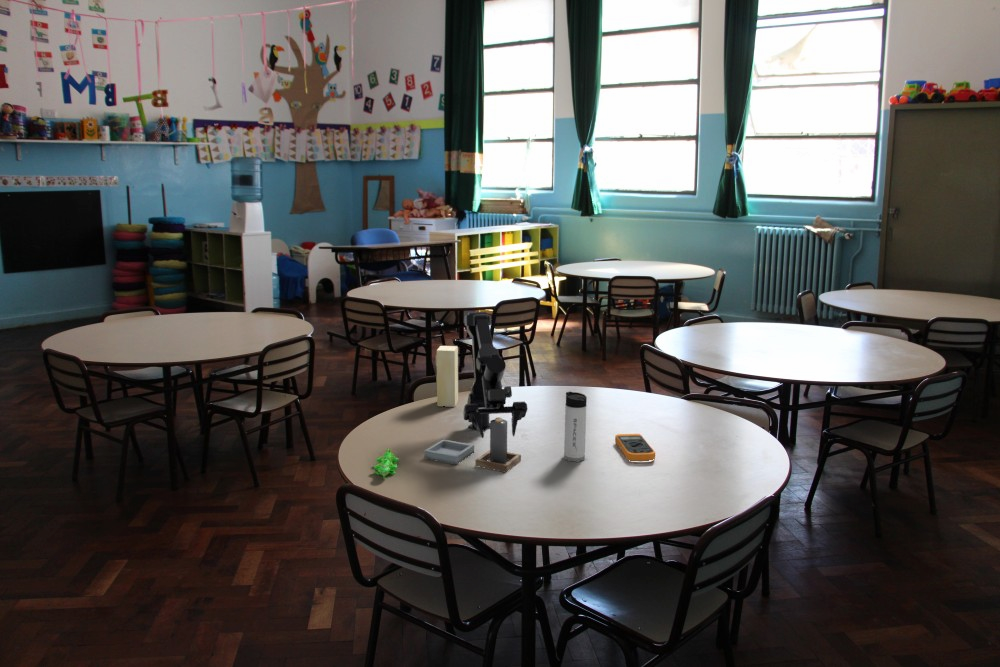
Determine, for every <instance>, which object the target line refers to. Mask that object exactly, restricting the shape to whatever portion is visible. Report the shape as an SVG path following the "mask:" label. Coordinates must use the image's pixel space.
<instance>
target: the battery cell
mask: <svg viewBox="0 0 1000 667" xmlns="http://www.w3.org/2000/svg"><path fill="white" fill-rule="evenodd" d="M489 423H490V428H489V450H490V459H489V461H491V462H496V463H501V464H506V463H507V462H508V460H507V452H508V420H506V419H503V418H502V417H495V419H492V420H489Z"/></svg>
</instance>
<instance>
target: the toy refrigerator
mask: <svg viewBox="0 0 1000 667" xmlns="http://www.w3.org/2000/svg"><path fill="white" fill-rule="evenodd" d="M458 350H459V347H458V345H440V346H439V347H438V348H437V349H436V355H435V366H436V375H435V376H436V379H435V380H436V396H437V398H436V399H437V400H436V401H437V403H436V404H437V406H438V407H443V406H445V407H448V408H449V407H450V408H451V407H452V408H454V407H456V406H457V404H458V402H459V352H458Z"/></svg>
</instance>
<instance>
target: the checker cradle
mask: <svg viewBox="0 0 1000 667" xmlns="http://www.w3.org/2000/svg"><path fill="white" fill-rule="evenodd" d="M489 458H490V449H489V450H487V451H486V452H485V453H483V454H482V455H481V456H479V457H477V458H476V459H475V460H474V461H475V467H476V466H480V467H479V468H481V467H485V468H484V469H486V468H489V469H488V470H491V469H495V470H494V471H496V470H499V471H498V472H501V471H505V472H504V473H508V472H509V471H510V470H511V469H513V468H514V467H515V466H517V465H518V464H519V463H521V461H522V455H521V453H520V454H518V453H513V452H508V451H507V459H509V460H507V463H506V464H501V463H496V462H491V461H490V459H489ZM488 459H489V460H488ZM487 460H488V461H487ZM517 463H518V464H517ZM516 464H517V465H516ZM513 466H514V467H513ZM512 467H513V468H512ZM509 469H510V470H509ZM508 470H509V471H508ZM507 471H508V472H507Z"/></svg>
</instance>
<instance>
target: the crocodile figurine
mask: <svg viewBox="0 0 1000 667" xmlns="http://www.w3.org/2000/svg"><path fill="white" fill-rule="evenodd" d="M391 451H392V450H391V448H390V447H389V448H387V449H386V452H383V453H382V454H383V455H380V456H379V457H378V458H376V459H375V461H376V462H377V463H378V464H376V465H374V466H373V469H374V470H376V471H375V475H378V476H379V475H381V476H382V479H383V480H384V479H387V475H395V474H396V473H397V472H396V471H395V470H397V468H398V464H397V463H398V462H399V460H400V458H398V457H397V456H395V454H394V452H391Z"/></svg>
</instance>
